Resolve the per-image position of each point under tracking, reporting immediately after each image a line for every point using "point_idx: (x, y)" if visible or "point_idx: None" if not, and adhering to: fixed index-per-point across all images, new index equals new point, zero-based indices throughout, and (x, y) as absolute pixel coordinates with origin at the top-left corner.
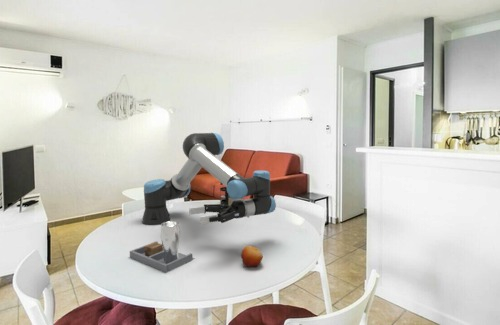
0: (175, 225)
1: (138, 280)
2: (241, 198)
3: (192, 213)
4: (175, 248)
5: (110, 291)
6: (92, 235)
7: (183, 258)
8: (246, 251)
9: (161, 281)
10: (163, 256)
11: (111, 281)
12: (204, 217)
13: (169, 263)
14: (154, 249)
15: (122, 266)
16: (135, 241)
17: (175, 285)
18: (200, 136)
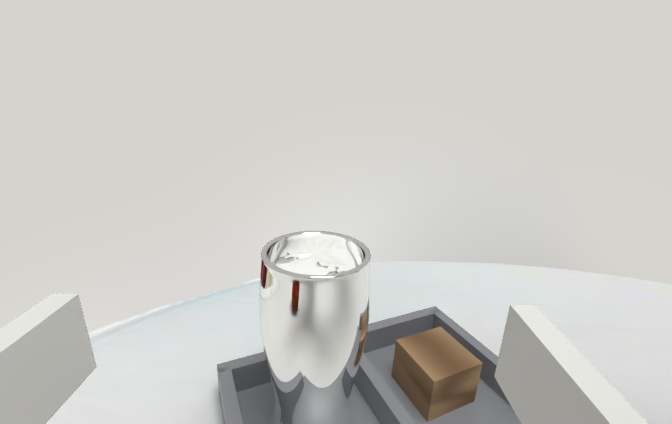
0: (263, 260)
1: (249, 324)
2: None
3: (513, 392)
4: (271, 382)
5: (244, 283)
6: (662, 283)
7: None
8: None
9: (180, 368)
10: (374, 407)
11: None
12: (7, 336)
13: (227, 380)
14: (402, 355)
15: (374, 309)
16: (626, 364)
17: (101, 397)
18: None
